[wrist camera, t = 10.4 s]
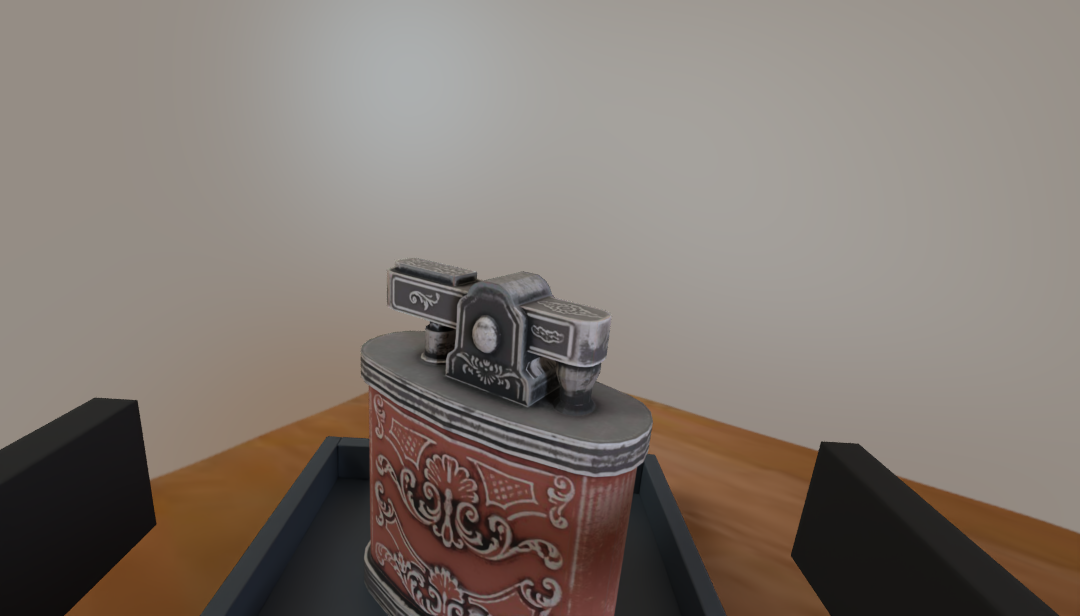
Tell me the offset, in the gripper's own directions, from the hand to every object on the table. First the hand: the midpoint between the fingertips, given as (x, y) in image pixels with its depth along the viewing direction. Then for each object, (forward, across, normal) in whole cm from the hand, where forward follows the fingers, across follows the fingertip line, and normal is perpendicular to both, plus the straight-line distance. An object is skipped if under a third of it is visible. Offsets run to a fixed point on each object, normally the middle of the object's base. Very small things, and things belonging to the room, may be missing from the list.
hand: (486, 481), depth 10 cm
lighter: (+3, 0, -7) cm, 7 cm away
